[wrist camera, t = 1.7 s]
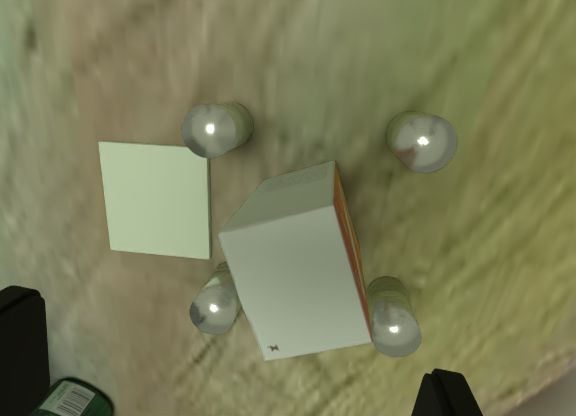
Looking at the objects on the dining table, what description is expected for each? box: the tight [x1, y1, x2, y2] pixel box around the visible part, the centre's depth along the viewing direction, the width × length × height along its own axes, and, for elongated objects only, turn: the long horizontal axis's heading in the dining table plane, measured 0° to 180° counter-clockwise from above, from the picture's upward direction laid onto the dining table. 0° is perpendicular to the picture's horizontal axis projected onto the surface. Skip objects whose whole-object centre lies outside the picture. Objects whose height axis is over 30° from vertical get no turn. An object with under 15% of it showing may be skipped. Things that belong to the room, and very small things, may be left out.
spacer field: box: [181, 102, 457, 357], centre depth 28 cm, size 18×18×6 cm
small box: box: [218, 161, 373, 361], centre depth 25 cm, size 8×6×13 cm
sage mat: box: [99, 141, 211, 259], centre depth 32 cm, size 10×10×1 cm
